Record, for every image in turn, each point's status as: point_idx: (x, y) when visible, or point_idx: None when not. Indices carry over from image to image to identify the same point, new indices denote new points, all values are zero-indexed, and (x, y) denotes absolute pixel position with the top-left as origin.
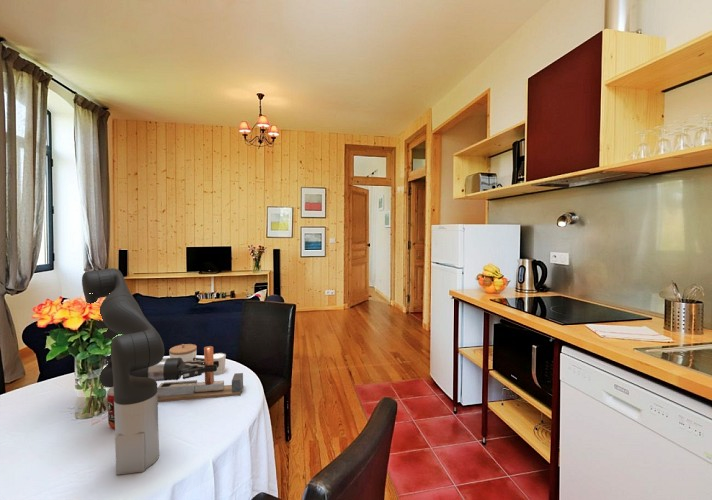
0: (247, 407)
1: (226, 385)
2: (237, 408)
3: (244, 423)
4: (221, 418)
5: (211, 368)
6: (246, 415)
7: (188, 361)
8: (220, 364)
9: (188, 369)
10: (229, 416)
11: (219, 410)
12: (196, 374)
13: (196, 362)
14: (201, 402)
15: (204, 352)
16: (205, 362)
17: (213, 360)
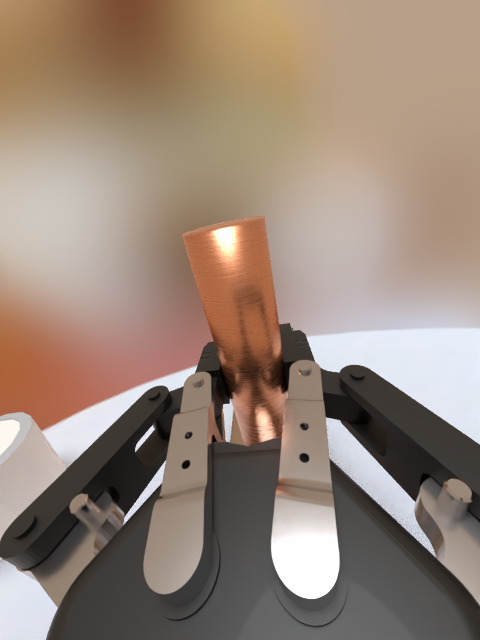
0: (373, 341)
1: (234, 414)
2: (387, 358)
3: (462, 329)
4: (476, 379)
5: (306, 344)
6: (418, 334)
7: (183, 556)
8: (49, 451)
9: (383, 511)
10: (448, 364)
11: (424, 399)
12: (380, 433)
13: (210, 444)
14: (382, 500)
15: (250, 271)
16: (274, 349)
17: (5, 471)
